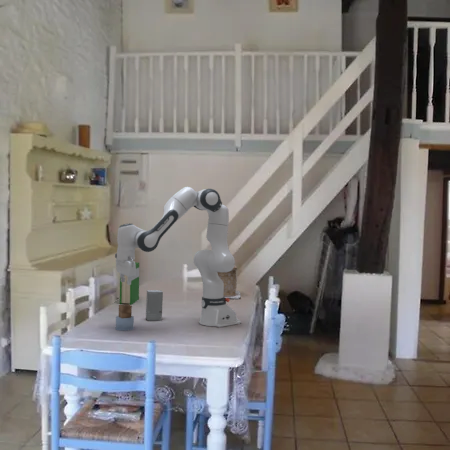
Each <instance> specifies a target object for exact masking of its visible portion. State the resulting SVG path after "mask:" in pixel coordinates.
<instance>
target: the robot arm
mask: <svg viewBox="0 0 450 450" xmlns="http://www.w3.org/2000/svg"><path fill="white" fill-rule="evenodd" d="M193 207H194V208H195V209H197V210H199V211H206V212H207V214H208V220H207V227H206V236H205V238H206V240H207V241H208V242H209V244H210V247H211V249H200V250H198V251H196V252H195V254H194V255H193V264H194V266H195V267H196V268H197V270H198V271H199V273H200V277H201V280H202V296H201V315H200V318H199V322H198V323H199V324H200V325H203V326H207V327H218V328H223V327H228V326H234V325H240V324H241V323H242V321H241V320H240V319H238V316H237V313H236V311H235V309H233V308H232V307H231V306H230V305H228V304H227V303H230V301H231V299H229V298H225V297H223V293H224V283H223V281H222V280H221V279H220V278H219V276H218V273H217V272H229V271H231V270H232V269H233V268H234V265H235V264H236V261H235V260H236V259H235V257H234V255H233V254H232V253H231V250H230V247H229V245H228V234H229V233H228V232H229V224H230V223H229V220H230V216H229V215H230V214H229V208H228V206H226V205H224V204H223V202H222V199H221V195H220V193H219V192H218V191H217V190H216V189H213V188H204V189H201V190H198V191H196V190H195V189H194V188H193V187H190V186H184V187H182V188H181V189H180V190H178V191H177V192H175V194H173V195H172V196H171V197H170V198H169V199H168V200H167V201H166V203H165V204H164V206H163V215H162V217H161V218H160V220H158V222H157V223H156V224H154V226H153V227H152V228H150V229H149V230H146V229H142V228H140V227H138V226H136V225H135V224H134V223H123V224H121V225H120V226H119V227H118V229H117V236H116V237H117V238H116V239H117V242H116V243H117V248H116V250H117V251H116V253H114V258H115V268H116V269H115V270H116V272H117V273H119V279H120V278H121V282H125V278H124V275H126V276H127V278H128V280H127V284H128V285H131V281H132V277H134V276H136V264H135V262H136V261H135V260H136V249H139V250H141V251H142V252H146V253H149V252H153V251H155V250H156V249H157V247H158V245H159V243H160V240H161V239H162V238H163V236H164V235H165V234H166V233H167V232H168V231H169V230H170V228H171V227H172V226H173V225H174V224H175V223H176V222H177V221H179V220H180V219H182V217H183V216H185V214H186V213H188V211H190V209H191V208H193ZM235 266H236V265H235Z"/></svg>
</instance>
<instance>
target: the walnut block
mask: <svg viewBox="0 0 450 450" xmlns="http://www.w3.org/2000/svg"><path fill="white" fill-rule="evenodd" d="M132 308H133V307H132V305H130V303H122V304H118V316H119V317H120V318H131V316H132V313H133V312H132Z"/></svg>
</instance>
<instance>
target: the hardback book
mask: <svg viewBox="0 0 450 450" xmlns="http://www.w3.org/2000/svg"><path fill="white" fill-rule="evenodd" d="M135 264H136V276H134V277H132V281H131V285H128V284H127V280H128V278H127V276H126V275H124V278H125V282H121V278H120V277H119V305H123V304H129V305H131V306H132V305H133V304H134V303H136V302H138V301H139V299H140V262H136V261H135Z"/></svg>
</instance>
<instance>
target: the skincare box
mask: <svg viewBox="0 0 450 450" xmlns="http://www.w3.org/2000/svg"><path fill="white" fill-rule="evenodd" d="M163 293H164V292H163V291H162V290H160V289H159V290H158V289H157V290H156V289H152V290H151V289H148V290H146V303H145V319H146V320H147V321H148V322H151V321H162V320H163V301H164V300H163V297H164V295H163Z"/></svg>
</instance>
